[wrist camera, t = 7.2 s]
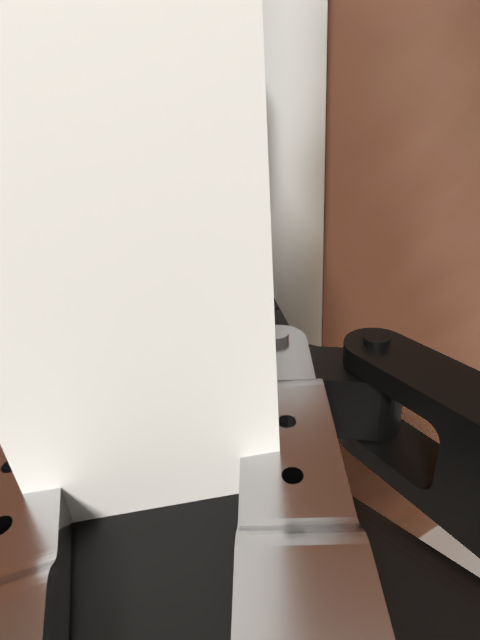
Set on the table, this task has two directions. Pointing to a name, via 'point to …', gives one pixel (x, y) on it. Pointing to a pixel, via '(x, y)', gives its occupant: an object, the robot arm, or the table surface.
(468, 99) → the table surface
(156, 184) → the door
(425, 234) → the table surface
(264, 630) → the robot arm
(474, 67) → the table surface
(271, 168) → the cabinet side
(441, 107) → the table surface
